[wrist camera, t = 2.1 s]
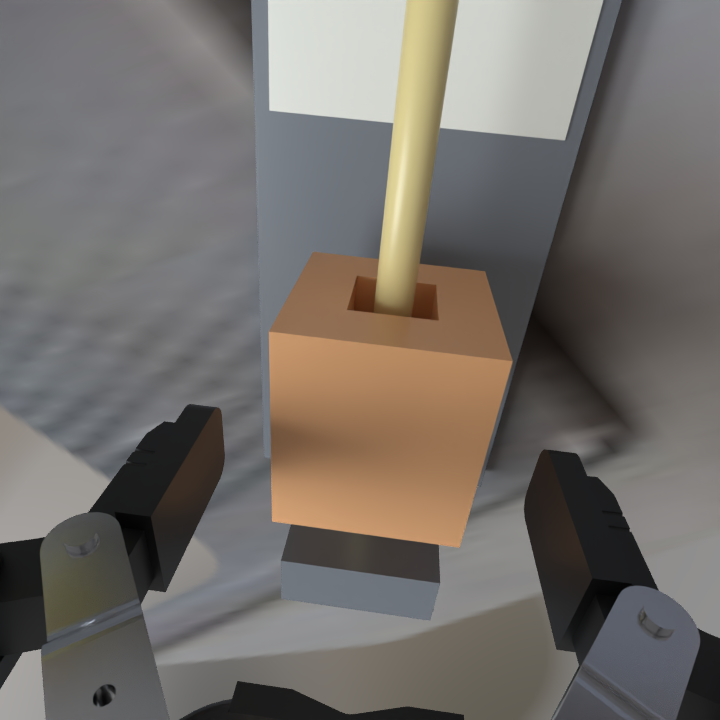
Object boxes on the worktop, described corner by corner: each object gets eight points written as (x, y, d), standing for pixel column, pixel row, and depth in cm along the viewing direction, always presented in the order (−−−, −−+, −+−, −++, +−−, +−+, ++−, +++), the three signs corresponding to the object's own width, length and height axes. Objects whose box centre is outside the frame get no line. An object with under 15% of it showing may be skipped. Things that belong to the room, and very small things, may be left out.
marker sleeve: (312, 251, 15) (269, 331, 11) (485, 271, 15) (512, 360, 10) (308, 409, 18) (272, 521, 14) (449, 427, 18) (459, 547, 14)
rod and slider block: (251, -518, 10) (-86, -1665, 3) (749, -497, 10) (1509, -1775, 3) (269, 443, 24) (209, 596, 17) (478, 470, 23) (502, 639, 17)
